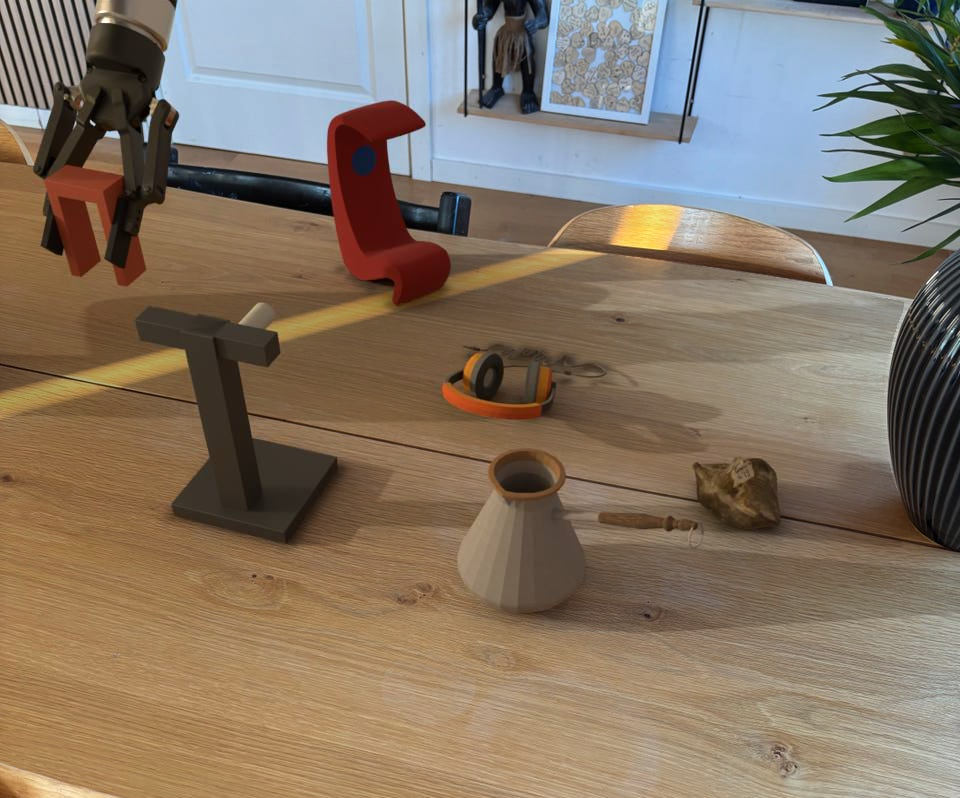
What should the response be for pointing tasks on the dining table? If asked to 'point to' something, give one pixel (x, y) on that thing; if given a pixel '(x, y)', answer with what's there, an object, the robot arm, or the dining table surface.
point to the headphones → (486, 380)
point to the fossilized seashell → (739, 492)
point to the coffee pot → (534, 535)
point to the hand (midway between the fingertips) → (82, 257)
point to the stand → (237, 428)
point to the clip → (74, 222)
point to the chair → (378, 203)
